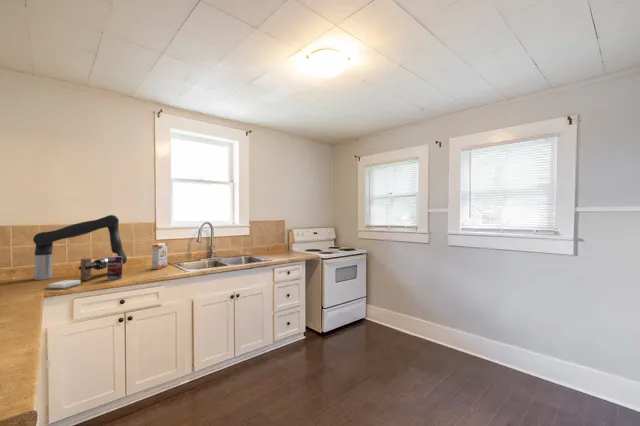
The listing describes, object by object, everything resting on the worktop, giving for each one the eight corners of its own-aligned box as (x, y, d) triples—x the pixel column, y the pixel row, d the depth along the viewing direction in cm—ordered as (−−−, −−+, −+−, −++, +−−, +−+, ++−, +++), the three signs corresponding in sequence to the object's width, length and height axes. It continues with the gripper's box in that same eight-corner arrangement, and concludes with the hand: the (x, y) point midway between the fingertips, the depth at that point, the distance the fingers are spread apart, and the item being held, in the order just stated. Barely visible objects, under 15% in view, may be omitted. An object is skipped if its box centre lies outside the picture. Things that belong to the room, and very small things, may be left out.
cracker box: (158, 269, 250) (158, 244, 250) (151, 269, 250) (151, 244, 250) (167, 266, 264) (167, 242, 264) (160, 266, 264) (160, 242, 264)
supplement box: (107, 280, 211) (107, 257, 211) (108, 278, 215) (108, 256, 215) (121, 278, 215) (121, 256, 215) (122, 277, 219) (122, 255, 219)
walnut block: (80, 279, 206) (80, 259, 206) (85, 278, 210) (85, 258, 210) (86, 279, 206) (86, 259, 206) (91, 278, 210) (90, 258, 210)
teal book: (66, 283, 199) (48, 288, 187) (66, 279, 199) (48, 284, 187) (80, 283, 198) (63, 288, 186) (80, 280, 198) (63, 284, 186)
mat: (44, 289, 186) (44, 288, 186) (62, 284, 198) (62, 283, 198) (65, 289, 185) (65, 288, 185) (82, 284, 197) (82, 284, 197)
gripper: (93, 258, 223) (72, 262, 206) (111, 258, 222) (92, 262, 205) (93, 268, 223) (72, 273, 206) (111, 268, 222) (92, 273, 205)
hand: (82, 268), depth 205 cm, fingers closed on walnut block, 4 cm apart
